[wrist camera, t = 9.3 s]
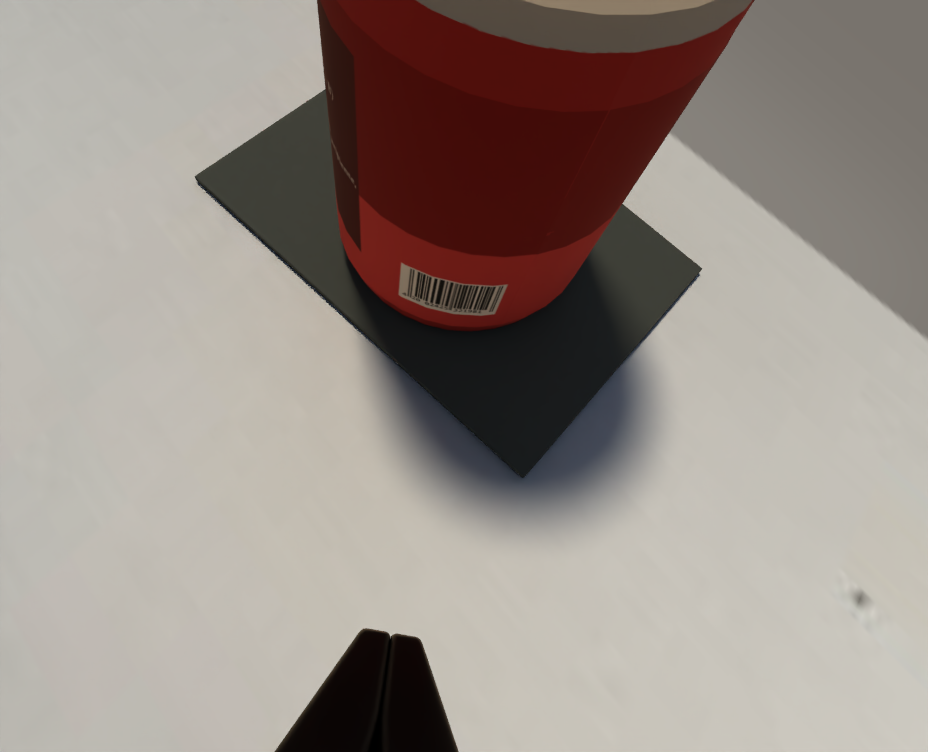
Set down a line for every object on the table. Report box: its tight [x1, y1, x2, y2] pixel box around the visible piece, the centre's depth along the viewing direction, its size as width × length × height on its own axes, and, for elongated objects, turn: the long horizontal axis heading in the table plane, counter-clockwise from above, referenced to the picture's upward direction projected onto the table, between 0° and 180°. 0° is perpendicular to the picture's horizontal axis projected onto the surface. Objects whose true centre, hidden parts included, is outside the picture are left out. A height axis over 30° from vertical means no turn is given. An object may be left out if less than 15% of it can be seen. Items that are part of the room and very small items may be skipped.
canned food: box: [317, 0, 754, 331], centre depth 14 cm, size 8×8×11 cm
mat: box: [195, 89, 702, 478], centre depth 19 cm, size 10×14×1 cm
